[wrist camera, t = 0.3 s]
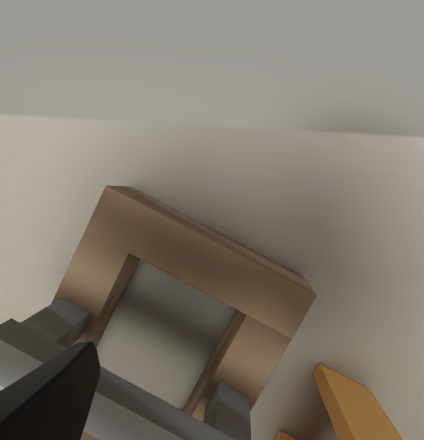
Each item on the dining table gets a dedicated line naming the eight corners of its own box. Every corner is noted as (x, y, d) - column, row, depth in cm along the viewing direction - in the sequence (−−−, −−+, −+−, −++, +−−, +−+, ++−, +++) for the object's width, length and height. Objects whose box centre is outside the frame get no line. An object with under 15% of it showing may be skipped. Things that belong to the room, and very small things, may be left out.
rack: (195, 468, 25) (168, 641, 15) (36, 381, 25) (-86, 496, 16) (303, 276, 23) (349, 338, 13) (128, 186, 23) (52, 183, 14)
